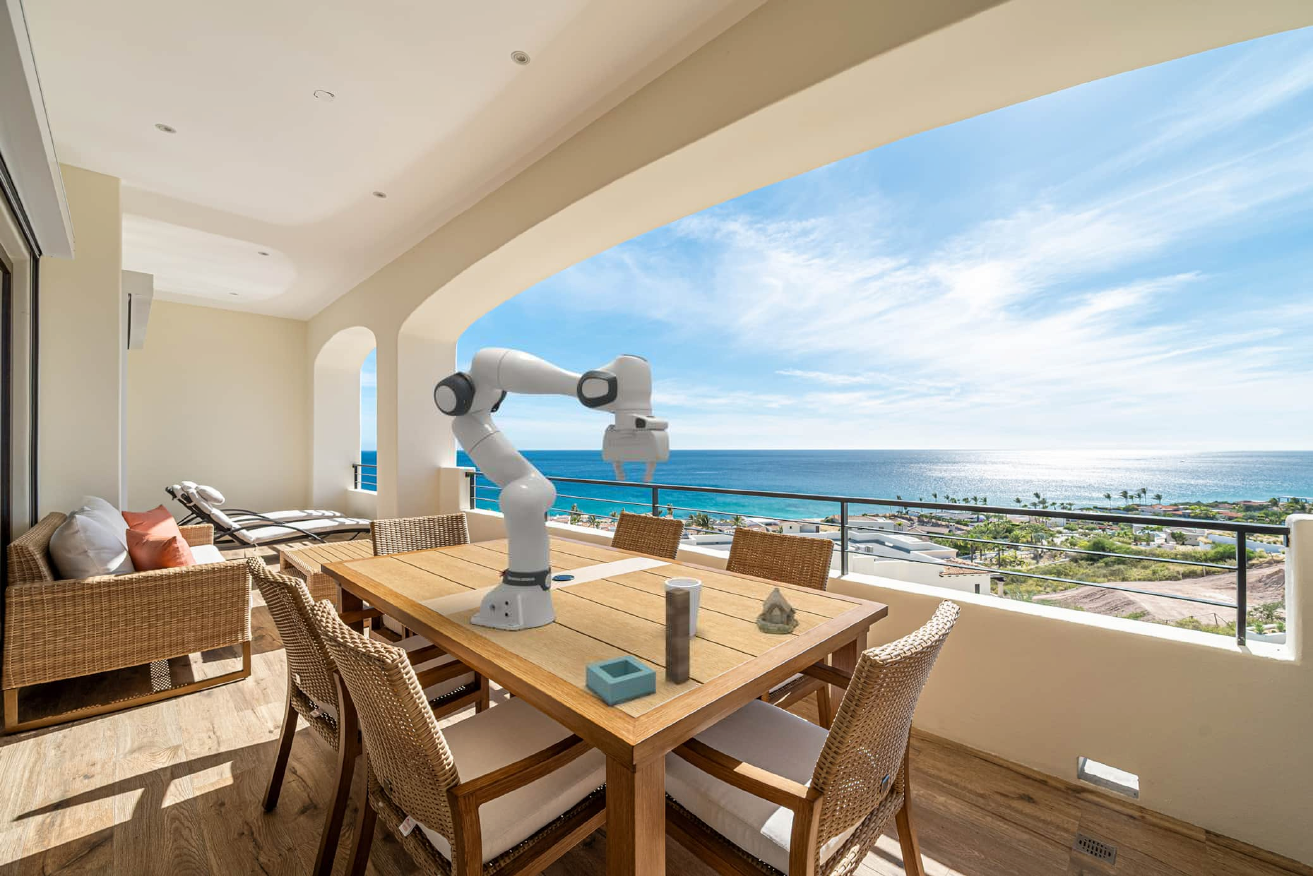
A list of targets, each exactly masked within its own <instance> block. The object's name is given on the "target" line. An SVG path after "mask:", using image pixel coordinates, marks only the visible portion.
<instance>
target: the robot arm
mask: <svg viewBox="0 0 1313 876" xmlns="http://www.w3.org/2000/svg"><path fill="white" fill-rule="evenodd" d="M650 366H651V365H650V363H649V361H648V360H646V359H645V358H643V357H641V356H638V355H635V354H634V355H633V354H619V355H617V356H616V357H615V358H614V359H613V360H612V361H611V362H609V363H608V364H606V365H603V366H601V367H599V368H596V369H593V370H589V371H586V372H584V373H583V374H580V373H576V372H572V371H568V370H566V369H563V368H561V367H560V366H558V365H557V366H556V365H555V364H552V363H550V362H548V361H547V360H545V359H543V358H540V357H538V356H536V355H533V354H531V353H528V352H525V351H523V350H518V349H513V348H507V347H497V346H495V347H494V346H493V347H483V348H480V349H479V350H477V351H476V352H475V354H474V356H473V357H472V360H471V364H470V369H469V370H468V371H465V372H463V371H458V372H456V373H454V374H452V375H451V374H450V375H448V376H446V377H445V378H443V379H442V380H440V381H439V382H438V383H437V384H436V385H435V387H434V391H433V400H434V403H435V405H436V407H437V409H438V410H439V411H440V412H441V413H442V414H444V415H445V416H449V417H454V418H453V420H452V423H451V431H452V432H453V435H454V437H455V438H456V440H457V442H458V444H459V445H460V447H461V448H462V450H463V451H464V453H466V455H467V456H468V457H469V459H471V461H472V462H473V463H474V465H475V466H476V467H477V469H479V470H480V472H481V473H482V475H484V477H485V478H486V479H488V480H489V481H491V482H492V483H494V484H495V485H496V486H498V487H499V488H500V489H501V492H500V493H499V496H498V506H499V509H500V511H501V513H502V515H503V519H504V524H505V529H506V530H505V531H506V533H507V534H506V535H507V545H508V553H507V554H508V566H507V568H506V569H504V570H502V571H501V572H499V576H498V578H501V577H502V580H501V582H500V583H499V584H498V585H496V586H495V587H494V588H493V589H491V590H490V591H489V592H488V593H486V594H485V595H484V597H483V598H482V600H481V603H480V607H479V611H478V612H476V613H475V614H474V615H473V616H471V618H470V624H473V625H476V626H477V625H478V626H482V625H484V627H489V628H493V627H495V628H494V629H499V630H504V629H506V631H509V630H516V631H519V629H520V630H524V629H530V627H531V628H537V627H541V626H544V625H548V624H551V623H552V622H553V621H555V619H556V614H555V611H554V607H553V602H552V595H551V594H552V593H551V587H552V567H551V566H550V564H551V563H550V554H551V553H550V551H551V547H550V545H551V542H550V541H551V540H550V536H549V534H548V531H547V526H546V525H547V524H546V518H545V513H546V512H548V511H549V510H550V509H552V507H553V506H554V504H555V501H556V500H557V499H556V498H557V490H556V487H555V485H554V484H553V482H552V481H551V480H549V479H548V478H546V477H545V476H544V475H543V473H541V472H540V471H539V470H538V468H536V467H535V466H534V465H533V464H532V463H531V462H529V460H528V459H527V458H525V456H523V455H522V454H521V453H520V452H519V451H518V450H517V448H516V447H515V446H514V445H513V443H511V441H510V440H509V439H508V438H507V437H506V435H505V434H504V433H503V432H502V431H501V429H500V428H499V427H498V426H497V425H496V424H495V422H494V421H493V419H492V416H491V413H496V412H498V411H499V409H500V406H501V404H502V403H503V401H504V400H505V398H506V396H507V394H508V393H512V394H521V395H522V394H523V395H559V396H560V395H561V396H562V395H563V396H569V397H573V398H576V399H578V400H579V402H580V404H582V405H583V406H584V407H586V408H587V409H590V410H596V411H600V412H607V413H611V414H614V424H613V423H612V424H611V423H610V424H608V426H607V427H606V428H605V430H604V434H603V439H602V447H601V449H602V451H601V457H602V458H601V459H602V460H603V462H612V467H613V470H614V473H615V479H616V481H617V482H618V481H619V482H620V481H625V480H626V478H627V477H626V476H627V475H626V472H624V469H623V468H622V467H623V466H624V462H628V463H629V462H633V463H635V462H636V463H644V462H645V467H646V470H645V473H644V474H642V481H643V483H644V482H645V483H652V482H653V480H654V478H653V475H654V473H655V470H656V468H657V463H667V461H668V459H669V457H670V438H669V437H670V436H669V434H668V431H666V430H668V428H669V421H668V420H666V419H664V418H661V417H659V416H656V415H654V414H653V407H652V404H651V396H652V392H653V389H652V387H653V386H652V383H653V382H652V373H651V372H652V371H651V367H650Z"/></svg>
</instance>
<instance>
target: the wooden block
mask: <svg viewBox="0 0 1313 876" xmlns="http://www.w3.org/2000/svg"><path fill="white" fill-rule="evenodd" d="M690 641H691V637H690V591H688V590H684V589H680V588H674V589H671V590H667V591H666V593H665V665H664V666H665V668H664V669H665V671H664V672H665V681H667V682H670V683H672V684H676V685H682V684H684V683H686V682H688V681H690V680H691V679H690V678H691V677H690V675H691V674H690V673H691V671H690V669H691V667H690V666H691V665H690V662H691V660H690V659H691V655H690V654H691V652H690V651H691V650H690V649H691V647H690V644H691V643H690Z"/></svg>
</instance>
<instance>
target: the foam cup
mask: <svg viewBox="0 0 1313 876" xmlns="http://www.w3.org/2000/svg"><path fill="white" fill-rule="evenodd" d="M702 587H703V586H702V581H701V580H699V579H696V578H693V577H673V578H669V579H666V580H665V581H664V593H665V594H666V591H667V590H671V589H674V588H680V589H684V590H688V591H690V638H691V637H694V636H696V631H697V626H698V624H697V623H698V618H699V616H698V615H699V610H700V601H701V593H702V589H703V588H702Z"/></svg>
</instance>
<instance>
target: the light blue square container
mask: <svg viewBox="0 0 1313 876" xmlns="http://www.w3.org/2000/svg"><path fill="white" fill-rule="evenodd" d="M656 680H657V672H656V670H654V669H652V667H649V666H647V665H646V664H645V663H643V662H641V661H640V660H638V659H636V658H635V657H633V656H632V655H631V654H628V655H624V656H619V657H616V658H611V659H606V660H603V661H600V662H595V663H591V664H588V665H586V666H585V687H587V688H588V689H589V690H590V691H591V692H592V693H594V694H595V695H596V696H597V697H599V698H600V699H601V700H602V701H603V702H604V703H606V704H607V706H609V707H613V706H615V705H619V704H623V703H626V702H629V701H633V700H636V699H639V698H643V697H646V696H649V695H652V694H656V693H657V686H656V685H657V683H656V682H657V681H656Z"/></svg>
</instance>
